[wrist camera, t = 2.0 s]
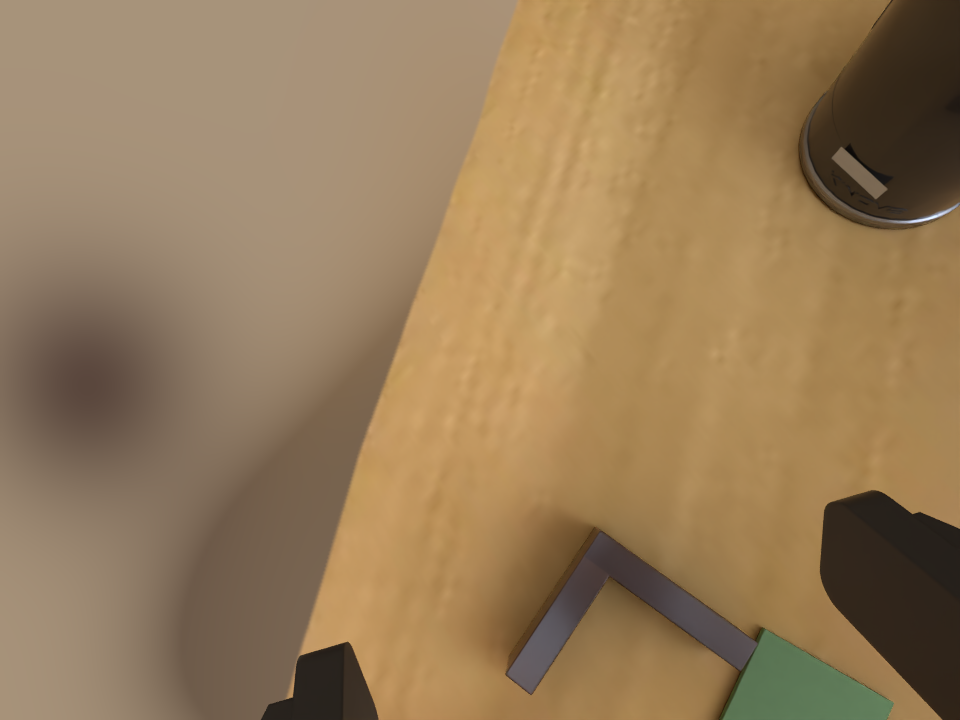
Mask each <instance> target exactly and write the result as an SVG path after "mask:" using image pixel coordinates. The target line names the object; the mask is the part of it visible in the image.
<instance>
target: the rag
mask: <svg viewBox="0 0 960 720" xmlns="http://www.w3.org/2000/svg"><path fill="white" fill-rule="evenodd" d="M756 642H757V643H758V644H757V646H756V648H755V649H754V651H753V653H752V654H751V656H750V657H749V659H748V661H747V662H746V664H745V666H744V667H743V669H742V672H741V674H740V676H739V678H738V680H737V682H736V684H735V687H734V689H733V691H732V693H731V695H730V697H729V699H728V701H727V704H726V706H725V708H724V710H723V712H722V714H721V716H720V719H719V720H887V718H888V716H889V713H890V711H891V709H892V707H893V704H894V703H893V702H891V701H890V700H888V699H886V698H885V697H883V696H881V695H879V694H878V693H876V692H874V691H872V690H871V689H869V688H867V687H865V686H864V685H862V684H860V683H859V682H857V681H855V680H853V679H852V678H850V677H848V676H846V675H845V674H843V673H841V672H839V671H838V670H836V669H834V668H832V667H831V666H829V665H827V664H825V663H824V662H822V661H820V660H818V659H817V658H815V657H813V656H811V655H810V654H808V653H806V652H804V651H803V650H801V649H799V648H797V647H796V646H794V645H792V644H790V643H789V642H787V641H785V640H783V639H782V638H780V637H778V636H777V635H775V634H773V633H771V632H770V631H768V630H766V629H764V628H762V629H761V631H760V633H759V635H758V637H757V640H756Z"/></svg>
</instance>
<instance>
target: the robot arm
mask: <svg viewBox="0 0 960 720" xmlns="http://www.w3.org/2000/svg"><path fill="white" fill-rule="evenodd" d="M799 154H800V161H801V165H802V169H803V171H804V174H805V176H806V178H807V180H808V182H809V184H810V185H811V187H812V188H813V190H814V191H815V192H816V194H817V195H818V196H819V197H820V198H821V199H822V200H823V201H824V202H825V203H826V204H827V205H828V206H829V207H831V208H832V209H834V210H835V211H836V212H838V213H840V214H841V215H843V216H845V217H847V218H849V219H851V220H853V221H856V222H858V223H861V224H864V225H868V226H872V227H877V228H885V229H904V228H912V227H917V226H921V225H924V224H927V223H930V222H932V221H935V220H937V219H939V218H941V217H942V216H944V215H946V214H947V213H949V212H950V211H952V210H953V209H955V208H956V207H958V206H959V205H960V0H891V2H890V3H889V4H888V6H887V7H886V9H885V10H884V11H883V13H882V14H881V16H880V17H879V18H878V20H877V21H876V23H875V24H874V25H873V27H872V30H871V32H870V33H869V34H868V36H867V37H866V38H865V40H864V41H863V43H862V44H861V45H860V47H859V48H858V50H857V51H856V52H855V54H854V55H853V57H852V58H851V59H850V61H849V62H848V63H847V65H846V66H845V67H844V69H843V70H842V71H841V73H840V74H839V76H838V77H837V79H836V80H835V81H834V83H833V84H832V86H831V87H830V88H829V90H828V91H827V92H826V93H825V94H824V95H823V96H822V97H821V98H820V99H819V101H818V102H817V103H816V105H815V106H814V107H813V109H812V110H811V112H810V113H809V115H808V117H807V118H806V121H805V123H804V125H803V128H802V131H801V136H800V143H799ZM820 575H821V580H822V583H823V586H824V588H825V591H826V593H827V595H828V596H829V598H830V600H831V601H832V603H833V604H834V605H835V607H836V608H837V609H838V610H839V611H840V612H841V613H842V614H843V615H844V617H845V618H846V619H847V620H848V621H849V622H850V623H851V624H852V625H853V626H854V627H855V628H856V629H857V630H858V631H859V632H860V633H861V634H862V635H863V636H864V638H865V639H866V640H867V641H868V642H869V643H870V644H871V645H872V646H873V647H874V648H875V649H876V650H877V651H878V652H879V653H880V654H881V655H882V656H883V658H884V659H885V660H886V661H887V662H888V663H889V664H890V665H891V666H892V667H893V668H894V669H895V670H896V671H897V672H898V673H899V674H900V675H901V676H902V678H903V679H904V680H905V681H906V682H907V683H908V684H909V685H910V686H911V687H912V688H913V689H914V690H915V691H916V692H917V693H918V694H919V695H920V696H921V697H922V699H923V700H924V701H925V702H926V703H927V704H928V705H929V706H930V707H931V708H932V709H933V710H934V711H935V712H936V713H937V714H938V715H939V716H940V717H941V719H942V720H960V529H959V528H956V527H954V526H952V525H949V524H947V523H945V522H942V521H940V520H937V519H935V518H933V517H930V516H928V515H926V514H923V513H921V512H918V513H915V514H912V513H910V512H909V511H908V510H906V509H905V508H903V507H902V506H901V505H899V504H898V503H897V502H895V501H894V500H893V499H891V498H890V497H889V496H887V495H886V494H884V493H882V492H879V491H876V490H871V491H868V492H864V493H861V494H857V495H854V496H850V497H847V498H844V499H840V500H837V501H833V502H830V503H829V504H827V506H826V507H825V510H824V520H823V534H822V547H821V561H820ZM261 720H378V715H377V711H376V708H375V704H374V702H373V699H372V696H371V694H370V691H369V689H368V686H367V684H366V681H365V679H364V676H363V674H362V671H361V668H360V666H359V663H358V661H357V658H356V656H355V653H354V651H353V648H352V646H351V645H350V643H349V642H345V643H342V644H338V645H335V646H332V647H328V648H325V649H321V650H318V651H314V652H311V653H308V654H304V655H301V656H300V657H299V658H298V661H297V665H296V673H295V683H294V692H293V698H289V699H286V700H283V701H279V702H276V703H273V704H269V705H268V707H267V709H266V711H265V713H264V715H263V717H262V719H261Z"/></svg>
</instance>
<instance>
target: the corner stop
mask: <svg viewBox="0 0 960 720" xmlns="http://www.w3.org/2000/svg"><path fill="white" fill-rule="evenodd" d="M609 576H610V577H611V578H613V579H614V580H615V581H617V582H618V583H619V584H621V585H622V586H624V587H625V588H626V589H628V590H629V591H630V592H632V593H633V594H635V595H636V596H637V597H639V598H640V599H641V600H643V601H644V602H646V603H647V604H648V605H650V606H651V607H652V608H654V609H655V610H656V611H658V612H659V613H661V614H662V615H663V616H665V617H666V618H667V619H669V620H670V621H672V622H673V623H674V624H676V625H677V626H678V627H680V628H681V629H682V630H684V631H685V632H687V633H688V634H689V635H691V636H692V637H693V638H695V639H696V640H698V641H699V642H700V643H702V644H703V645H704V646H706V647H707V648H709V649H710V650H711V651H713V652H714V653H715V654H717V655H718V656H719V657H721V658H722V659H724V660H725V661H726V662H728V663H729V664H730V665H732V666H733V667H735V668H736V669H737V670H739V671H741V670H742V669H743V667H744V666H745V664H746V662H747V661H748V659H749V657H750V656H751V654H752V653H753V651H754V649H755V648H756V646H757V644H758V643H757V642H756V641H755V640H753V639H752V638H750V637H749V636H748V635H746V634H745V633H744V632H742V631H741V630H740V629H738V628H737V627H736V626H734V625H733V624H731V623H730V622H729V621H727V620H726V619H724V618H723V617H722V616H720V615H719V614H717V613H716V612H715V611H713V610H712V609H710V608H709V607H708V606H706V605H705V604H703V603H702V602H701V601H699V600H698V599H696V598H695V597H694V596H692V595H691V594H689V593H688V592H687V591H685V590H684V589H682V588H681V587H680V586H678V585H677V584H675V583H674V582H673V581H671V580H670V579H668V578H667V577H666V576H664V575H663V574H661V573H660V572H659V571H657V570H656V569H654V568H653V567H652V566H650V565H649V564H647V563H646V562H645V561H643V560H642V559H640V558H639V557H638V556H636V555H635V554H633V553H632V552H631V551H629V550H628V549H626V548H625V547H624V546H622V545H621V544H619V543H618V542H617V541H615V540H614V539H612V538H611V537H610V536H608V535H607V534H605V533H604V532H603V531H601V530H600V529H598V528H597V527H595V528H594V529H593V531H592V532H591V534H590V535H589V537H588V538H587V540H586V541H585V543H584V544H583V546H582V547H581V549H580V550H579V552H578V553H577V555H576V556H575V558H574V559H573V561H572V562H571V564H570V565H569V567H568V568H567V570H566V571H565V573H564V574H563V576H562V577H561V579H560V580H559V582H558V583H557V585H556V586H555V588H554V589H553V591H552V592H551V594H550V595H549V597H548V598H547V600H546V601H545V603H544V604H543V606H542V607H541V609H540V610H539V612H538V613H537V615H536V616H535V618H534V620H533V621H532V623H531V624H530V626H529V627H528V629H527V630H526V632H525V633H524V635H523V636H522V638H521V639H520V641H519V642H518V644H517V645H516V647H515V648H514V650H513V651H512V653H511V654H510V656H509V659H508V664H507V669H506V676H507V677H509V678H510V679H511V680H512V681H514V682H515V683H516V684H517V685H519V686H520V687H521V688H522V689H524V690H525V691H526V692H527V693H529V694H530V695H532V694H533V692H534V691H535V689H536V688H537V686H538V685H539V683H540V682H541V680H542V679H543V677H544V676H545V674H546V673H547V671H548V669H549V668H550V666H551V665H552V663H553V662H554V660H555V659H556V657H557V656H558V654H559V653H560V651H561V650H562V648H563V647H564V645H565V643H566V642H567V640H568V639H569V637H570V636H571V634H572V633H573V631H574V630H575V628H576V627H577V625H578V624H579V622H580V621H581V619H582V617H583V616H584V614H585V613H586V611H587V610H588V608H589V607H590V605H591V604H592V602H593V601H594V599H595V598H596V596H597V595H598V593H599V591H600V590H601V588H602V587H603V585H604V584H605V582H606V581H607V579H608V578H609Z"/></svg>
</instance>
